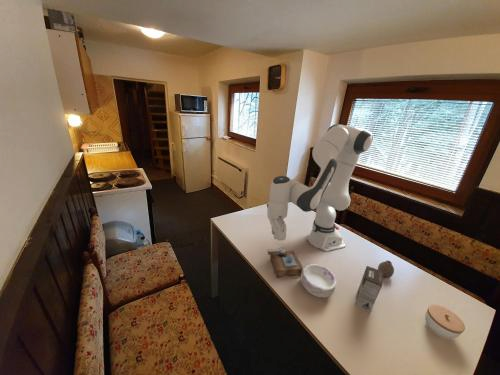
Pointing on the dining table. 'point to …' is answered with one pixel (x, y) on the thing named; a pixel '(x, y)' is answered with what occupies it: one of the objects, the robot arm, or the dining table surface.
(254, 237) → the dining table surface
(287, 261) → the cover
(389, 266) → the vase
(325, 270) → the white round bowl
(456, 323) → the lidded jar
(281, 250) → the lever handle
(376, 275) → the coffee box
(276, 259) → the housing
